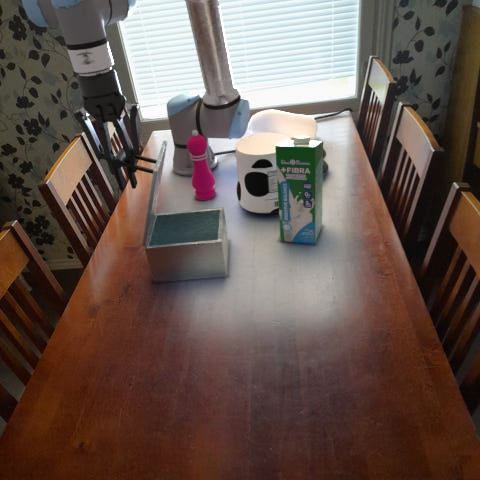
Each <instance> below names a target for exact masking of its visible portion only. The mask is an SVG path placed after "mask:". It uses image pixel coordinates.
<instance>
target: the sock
mask: <svg viewBox="0 0 480 480" xmlns="http://www.w3.org/2000/svg"><path fill="white" fill-rule="evenodd" d="M314 118H315V117H313V116H311V115H308V114H307V115H306V114H299V113H291V112H286V111H282V110H278V109H266V110H262V111H259V112H256V113H254V114H253V115H252V116H251V117H250V118H249V123H248V130H249V133H250V134H251V135H253V134H259V133H271V132H272V133H281V134H284V135H287V136H288V137H290V138H291V140H293V137H294V136H310V140H314V141H316V137H317V135H318V130H319V129H318V128H319V127H318V123H317V120H315V119H314Z"/></svg>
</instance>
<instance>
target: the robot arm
mask: <svg viewBox="0 0 480 480" xmlns="http://www.w3.org/2000/svg"><path fill="white" fill-rule="evenodd" d="M184 1H185V5H186V10H187V15H188V19H189V23H190V28H191V33H192V36H193V41H194V47H195V49H196V50H195V51H196V55H197V58H198V64H199V67H200V72H201V77H202V81H203V85H204V89H205V91H204V93H203V95H202V93H201V92H200V91H197V90H195V91H188V92H184V93H180V94H178V95H176V96H173V97H172V98H170V99H169V100H168V101H167V102H166V113H167V118H168V123H169V128H170V133H171V138H172V143H173V147H174V150H173V157H172V168H173V171H174V173H175V174H177V175H180V176H185V177H192V175H193V172H194V163H193V160H192V159H191V156H190V152H189V151H188V149H187V140H188V139H189V138H190V137H191V136H193V135H192V131H193V130H197V131H198V135H201V136H203V137H204V138H205V139H206V141H207V149H206V151H207V155H208V156H207V158H206V161H207V165H208V168H209V169H210V171H211V172H212V170H214V169H215V168H216V167H217V165H218V161H217V159H218V158H217V156H222V155H228V154H234V153H235V154H236V149H231V150H223V151H218V152H214V150H213V148H212V145H211V144H210V142H209V139H224V140H225V139H228V140H234V139H235V140H236V139H239V140H240V139H242V138H244V137H245V134H246V132H247V131H248V128H249V122H250V118H251V117H250V115H251V107H250V102H249V100H248V98H246V97H242V96H241V90H240V88H239V87H238V86H237V85H234V78H233V72H232V67H231V61H230V55H229V50H228V44H227V38H226V33H225V28H224V27H225V26H224V22H223V16H222V11H221V5H220V0H184ZM21 2H22V6H23V9H24V12H25V14H26V16H27V17H28V19H29V20H30V21H31V22H32V23H33V24H34V25H36V26H38V27H41V28H50V29H53V28H57V27H60V30H61V34H62V36H63V39H64V42H65V47H66V50H67V53H68V57H69V59H70V62H71V65H72V68H73V72H74V73H75V74H77V75H76V82H77V85H78V88H79V91H80V94H81V96H82V107H80V108H78V109H77V110H76V111H75V112H74V114H73V117H74V119H75V120H76V121H77V122H78V123H79V125H80V126H81V129H82V130H83V132H84V134H85V137H86V139H87V141H88V143H89V144H90V147H91V149H92V152H93V153H94V156H95V158H96V159H97V160H105V161H106V163H107V166H108V169H109V172H110V174H111V175H112V176H114V175H115V178H116V182H117V184H118V188H119V190H120V191H124V190H125V187H126V184H127V183H126V180H125V176H124V174H123V170H122V167H121V168H116V167H115V166H114V165H113V161H114V159H115V157H116V155H115V152H114V151H113V146H112V145H113V144H112V140H111V136H110V135H111V134H110V130H109V125H108V123H112V126H113V128H115V131H116V134H117V136H118V138H119V141H120V144H121V146H122V148H123V149H124V152H125V154H126V157H125V159H124V162H126V163H130V164H134V165H138V163H137V159H135V156H136V155H140V153H141V152H142V141H141V140H142V139H141V133H140V125H139V124H140V123H139V115H138V114H139V110H140V103H139V102H137V101H135V102H131V101H129V100H127V98H126V96H124V94H123V92H122V89H121V85H120V82H119V78H118V74H117V70H116V69H115V68H113V66H114V65H115V63H114V59H113V55H112V52H111V48H110V44H109V41H108V37H107V34H106V30H105V27H108V26H110V25H112V24H115V23H118V22H124V21H125V20H127V18H129V17H130V16H131V15H133V14H134V12H135V11H136V8H137V4H138V0H21ZM124 109H126V113H127V114H128V115H129V126H130V134H131V140H130V136H129V134H128V132H127V130H126V126H125V123H124V119H123V117H122V115H123V113H124ZM347 111H349V112H350V113H351V112H354V110H353V108H351V107H344V108H343V109H341V110H339V111H337V112H333V113H328V114H324V115H320V116H316V117H315V116H314V117H313V118H314V119H315V121H317V120H322V119H327V118H332V117H335V116H338V115H340V114H342V113H344V112H347ZM89 115H90V116H91V117H92V118H93V119H94V120H95V121H96V125H97V129H98V131H99V135H100V138H99V137H98V134H97V133H96V131H95V129H94V126H93V124H92V122H91V120H90V118H89ZM100 140H101V142H100ZM131 141H132V142H131ZM114 155H115V156H114ZM125 169H126V172H127V177H128V179H129V182H130V187H131V189H132V190H133V189H134V190H135V189H136V188H137V186H138V179H137V176H136V173H137V171H138V170H136V169H132V168H128V167H125Z"/></svg>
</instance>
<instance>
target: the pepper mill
mask: <svg viewBox="0 0 480 480" xmlns="http://www.w3.org/2000/svg"><path fill="white" fill-rule="evenodd" d="M192 135H193V136H191V137H190V138H189V139H188V140H187V149H188V151H189V152H190V156H191V159H192V160H193V163H194V172H193V175H192V176H191V187H192V188H193V189H194V190H195V191H194V195H195V198H196V199H197V200H200V201H207V200H208V201H209V200H211V199H213V198H214V197H215V196H216V194H217V193H216V188H215V185H216V178H215V175H214V173H213V172H212V170H211V171H210V169H209V168H208V165H207V161H206V158H207V156H208V155H207V151H206V149H207V141H206V139H205V138H204V137H203V136H201V135H198V131H197V130H193V131H192Z"/></svg>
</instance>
